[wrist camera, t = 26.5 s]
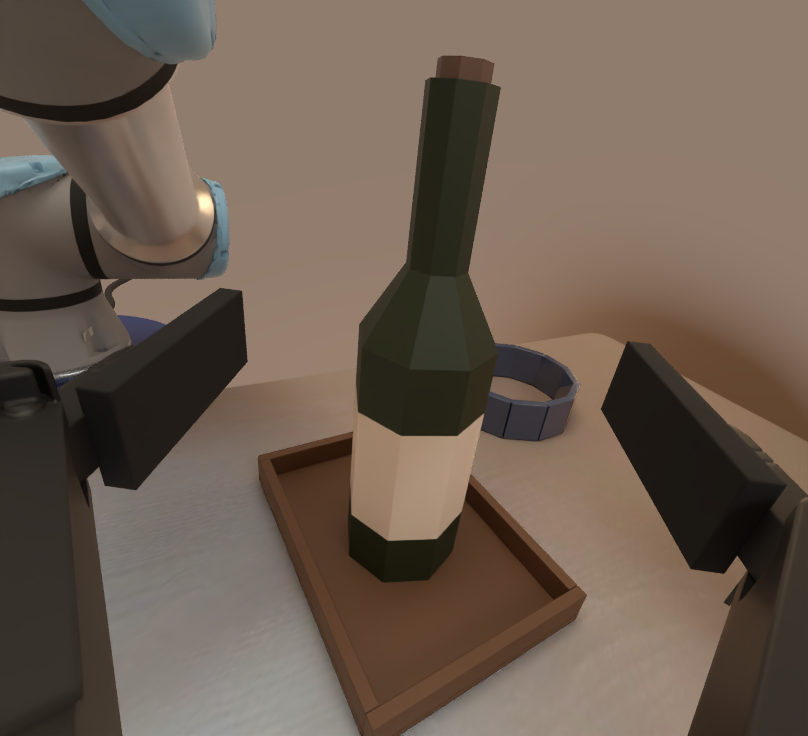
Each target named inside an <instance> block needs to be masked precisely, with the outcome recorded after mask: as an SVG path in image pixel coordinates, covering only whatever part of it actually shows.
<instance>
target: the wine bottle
mask: <svg viewBox="0 0 808 736" xmlns="http://www.w3.org/2000/svg"><path fill="white" fill-rule="evenodd" d="M493 68H494V63H492V62H489V61H487V60H485V59H479V58H473V57H466V56H441V57H440V58H438V62H437V70H436V78H429V79H427V80H426V81H425V90H424V99H423V109H422V118H421V128H420V138H419V147H418V156H417V166H416V175H415V185H414V194H413V203H412V213H411V222H410V232H409V241H408V251H407V260H406V263H405V265H404V266H403V267H402V269H401V270H400V271H399V272H398V274H397V275H396V277H395V278H394V279H393V280H392V282H391V283H390V284H389V286H388V287H387V288H386V290H385V291H384V292H383V294H382V295H381V296H380V298H379V299H378V300H377V302H376V303H375V304H374V306H373V307H372V308H371V310H370V311H369V312H368V314H367V315H366V316H365V317H364V319H363V320H362V321H361V323H360V325H359V340H358V357H357V374H356V391H355V408H354V425H353V443H352V460H351V477H350V494H349V511H348V542H349V556H350V557H351V558H352V559H354V560H355V561H356V562H357V563H359V564H360V565H361V566H362V567H364V568H365V569H366V570H367V571H369V572H370V573H371V574H372V575H374V576H375V577H376V578H378V579H379V580H380V581H381V582H383V583H387V582H405V581H423V580H429V579H430V578H431V577H432V575H433V574H434V573H435V572H436V571H437V569H438V568H439V567H440V566H441V565H442V563H443V562H444V561H445V560H446V559H447V557H448V556H449V555H450V554H451V552H452V551H453V547H454V543H455V539H456V534H457V530H458V525H459V521H460V517H461V512H462V508H463V504H464V499H465V495H466V491H467V486H468V482H469V478H470V473H471V469H472V465H473V460H474V456H475V452H476V447H477V443H478V439H479V434H480V430H481V426H482V421H483V417H484V413H485V408H486V404H487V400H488V395H489V391H490V387H491V382H492V378H493V374H494V369H495V365H496V361H497V356H498V350H497V347H496V345H495V342H494V340H493V337H492V334H491V332H490V330H489V326H488V324H487V321H486V319H485V316H484V313H483V311H482V308H481V306H480V303H479V300H478V298H477V295H476V292H475V290H474V288H473V285H472V282H471V279H470V277H469V274H468V270H469V265H470V259H471V253H472V248H473V241H474V236H475V230H476V225H477V219H478V214H479V208H480V202H481V197H482V191H483V185H484V179H485V174H486V168H487V162H488V157H489V151H490V145H491V140H492V134H493V128H494V122H495V117H496V111H497V106H498V100H499V94H500V89H501V88H500V87H499V86H496V85H493V84H491V80H492V74H493Z"/></svg>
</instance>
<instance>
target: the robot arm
mask: <svg viewBox="0 0 808 736" xmlns="http://www.w3.org/2000/svg"><path fill="white" fill-rule="evenodd" d="M215 39H216V13H215V0H0V110H1V111H4V112H7V113H9V114H13V115H16V116H19V117H21V118H22V120H23V121H24V122H25V123H26V124H27V126H28V127H29V128H30V129H31V130H32V131H33V133H34V134H35V135H36V136H37V137H38V138H39V139H40V140H41V142H42V143H43V144H44V145H45V147H46V148H47V149H48V150H49V151H50V152H51V154H52V155H53V156H51V155H39V156H15V157H1V158H0V736H122V729H121V721H120V713H119V705H118V698H117V690H116V682H115V675H114V667H113V659H112V651H111V644H110V636H109V628H108V621H107V613H106V605H105V597H104V590H103V582H102V574H101V567H100V559H99V551H98V544H97V536H96V528H95V520H94V513H93V505H92V497H91V490H90V486H89V483H88V480H87V478H88V477H89V476H90V475H91V474H92V473H93V472H94V471H95V470H96V469H97V468H98V467H99V468H100V471H101V475H102V478H103V481H104V484H105V486H110V487H118V488H125V489H132V490H137V489H138V488H139V486H140V485H141V484H142V483H143V482H144V481H145V479H146V478H147V477H148V476H149V475H150V474H151V473H152V471H153V470H154V469H155V468H156V467H157V466H158V464H159V463H160V462H161V461H162V460H163V459H164V458H165V456H166V455H167V454H168V453H169V452H170V451H171V449H172V448H173V447H174V446H175V445H176V444H177V443H178V441H179V440H180V439H181V438H182V437H183V436H184V434H185V433H186V432H187V431H188V430H189V429H190V428H191V426H192V425H193V424H194V423H195V422H196V421H197V419H198V418H199V417H200V416H201V415H202V414H203V413H204V411H205V410H206V409H207V408H208V407H209V406H210V404H211V403H212V402H213V401H214V400H215V399H216V398H217V396H218V395H219V394H220V393H221V392H222V391H223V389H224V388H225V387H226V386H227V385H228V384H229V382H230V381H231V380H232V379H233V378H234V377H235V376H236V374H237V373H238V372H239V371H240V370H241V369H242V368H243V366H244V365H245V364H246V363H247V348H246V336H245V324H244V310H243V298H242V291H239V290H231V289H224V288H219V289H218V290H217V291H215V292H214V293H212V294H211V295H209V296H208V297H206V298H205V299H203V300H202V301H200V302H199V303H198V304H196V305H195V306H193V307H192V308H190V309H189V310H187V311H186V312H184V313H183V314H181V315H180V316H179V317H177V318H176V319H174V320H173V321H171V322H170V323H169V324H167V325H165V326H164V327H163V328H161V329H160V330H158V331H157V332H155V333H154V334H152V335H151V336H149V337H148V338H147V339H145V340H144V341H142V342H141V343H139V344H138V345H136V346H134V345H132V343H131V339H130V335H129V333H128V331H127V330H126V328H125V327H124V325H123V324H122V322H121V320H120V319H119V317H118V316H117V314H116V313H115V311H114V310H113V309H114V307H115V301H114V299H113V297H112V292H113V290H114V289H115V288H117V287H118V286H120V285H121V284H123V283H125V282H127V281H129V280H131V279H171V278H172V279H182V278H183V279H187V278H188V279H189V278H191V279H193V278H194V279H197V280H200V279H201V280H202V279H205V278H212V277H219V276H221V275H223V274H224V273H225V271H226V269H227V266H228V261H229V252H228V249H229V220H228V211H227V203H226V197H225V194H224V191H223V189H222V187H221V185H220V184H219V183H217V182H215V181H210V180H208V179H205V178H200V177H198V175H197V174H196V173H195V172H194V171H193V170H192V169H190V168H189V166H188V161H187V157H186V153H185V149H184V145H183V141H182V137H181V132H180V128H179V124H178V120H177V116H176V112H175V107H174V103H173V100H172V96H171V91H170V87H169V84H170V83H171V82H172V80H173V78H174V77H175V75H176V73H177V71H178V69H179V67H180V64H181V62H183V61H185V60H200V59H203V58H205V57H206V56H207V55H208V54H209V52H210V51H211V50H212V49H213V46H214V42H215ZM100 279H119V280H117V281H115V282H113V283H112V284H110V285H109V286H108V287H107V288H106V290H105V296H104V294H103V290H102V286H101V282H100ZM105 297H106V298H105ZM57 386H61V387H60V388H58V389H57ZM601 410H602V412H603V414H604V416H605V417H606V419H607V421H608V423H609V424H610V426H611V428H612V430H613V432H614V433H615V435H616V437H617V439H618V440H619V442H620V444H621V446H622V448H623V449H624V451H625V453H626V455H627V457H628V458H629V460H630V462H631V464H632V465H633V467H634V469H635V471H636V473H637V474H638V476H639V478H640V480H641V481H642V483H643V485H644V487H645V489H646V490H647V492H648V494H649V496H650V497H651V499H652V501H653V503H654V505H655V506H656V508H657V510H658V512H659V513H660V515H661V517H662V519H663V521H664V522H665V524H666V526H667V528H668V529H669V531H670V533H671V535H672V537H673V538H674V540H675V542H676V544H677V545H678V547H679V549H680V551H681V553H682V554H683V556H684V558H685V560H686V562H687V563H688V565H689V567H690V569H694V570H701V571H708V572H715V573H722V574H724V573H725V572H726V570H727V569H728V568H729V566H730V565H731V563H732V562H733V561H734V559H735V558H736V556H738V557H739V559H740V560H741V561H742V563H743V564H744V566H745V567H746V569H747V570H748V571H747V572H746V573H745V575H744V576H743V577H742V579H741V580H740V581H739V583H738V584H737V585H736V587H735V588H734V589H733V591H732V592H731V593H730V595H729V596H728V597H727V599H726V600H725V601H724V603H725V604H727V605H728V606H730V605H731V604H732V605H731V608H730V611H729V614H728V617H727V620H726V623H725V626H724V629H723V632H722V635H721V638H720V641H719V644H718V646H717V649H716V652H715V655H714V658H713V661H712V664H711V667H710V670H709V673H708V676H707V679H706V682H705V685H704V688H703V691H702V694H701V697H700V700H699V703H698V706H697V709H696V712H695V715H694V718H693V721H692V724H691V727H690V730H689V733H688V736H808V495H807V494H806V493H805V492H804V491H803V490H802V489H801V488H800V487H799V486H798V485H797V484H796V483H795V482H794V481H793V480H792V479H791V478H790V477H789V476H788V475H787V474H786V473H785V472H784V471H783V470H782V469H781V468H780V467H779V466H778V465H777V464H774V463H773V460H772V459H771V458H770V457H769V456H768V455H767V454H766V453H764V452H762V449H761V448H760V447H759V446H758V445H757V444H756V443H755V442H754V441H753V440H752V439H751V438H750V437H749V436H747V435H746V434H744V433H743V432H741V431H740V430H738V429H737V428H735V427H734V426H732V425H731V424H727V423H726V421H725V420H724V419H723V418H722V417H721V416H720V415H719V414H718V413H717V412H716V411H715V410H714V409H713V408H712V407H711V406H710V405H709V404H708V403H707V402H706V401H705V400H704V399H703V398H702V397H701V396H700V395H699V394H698V393H697V392H696V391H695V390H694V388H693V387H692V386H691V385H690V384H689V383H688V382H687V381H686V380H685V379H684V378H683V377H682V376H681V375H680V374H679V373H678V372H677V371H676V370H675V369H674V368H673V367H672V366H671V365H670V364H669V363H668V362H667V361H666V360H665V359H664V358H663V357H662V356H661V354H660V353H658V351H656V349H655V348H654V347H653V346H652V345H651V344H646V343H638V342H630V341H627V344H626V346H625V349H624V351H623V354H622V356H621V359H620V361H619V364H618V367H617V369H616V372H615V374H614V377H613V379H612V382H611V385H610V387H609V390H608V392H607V395H606V397H605V400H604V402H603V405H602V408H601Z"/></svg>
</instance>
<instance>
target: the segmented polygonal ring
mask: <svg viewBox="0 0 808 736" xmlns="http://www.w3.org/2000/svg"><path fill="white" fill-rule="evenodd" d="M495 345H496V347H497V350H498V356H497V361H496V365H495V369H494V374H493V376H502V377H510V378H513V379H516V380H519V381H522V382H525V383H528V384H531V385H534V386H535V387H537V388H538V389H540V390H541V391H543V392H544V393H545V394H547V395H548V396H550V397H551V398H553V399H554V400H551V401H548V402H534V401H523V400H512V399H509V398H506V397H503V396H501V395H498V394H495V393H492V392H490V391H489V395H488V400H487V404H486V408H485V413H484V417H483V421H482V426H481V430H483V431H486V432H488V433H491V434H493V435H496V436H498V437H501V438H502V436H503V438H507V439H519V440H531V441H537V440H538V441H540V440H543V439H546V438H549V437H552V436H555V435H557V434H560V433H562V432H564V429H565V427H566V424H567V422H568V420H569V417H570V415H571V412H572V409H573V406H574V403H575V400H576V397H577V394H578V392H579V389H580V386H581V385H580V383H579V381H578V380H577V379H576V377H575V376H574V374H573V373H572V371H571V370H570V369H568V367H566V366H565V365H563V364H561V363H560V362H558V361H556V360H555V359H553V358H551V357H550V356H548V355H545V354H543V353H540V352H537V351H533V350H530V349H527V348H523V347H520V346H516V345H508V344H498V343H495Z"/></svg>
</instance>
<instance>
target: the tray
mask: <svg viewBox="0 0 808 736" xmlns="http://www.w3.org/2000/svg"><path fill="white" fill-rule="evenodd" d="M352 443H353V432H350V433H346V434H342V435H338V436H334V437H330V438H326V439H322V440H318V441H314V442H310V443H306V444H303V445H299V446H295V447H291V448H287V449H283V450H279V451H275V452H271V453H267V454H263V455H259V456H258V465H259V479H260V481H261V484H262V486H263V489H264V492H265V494H266V497H267V499H268V502H269V504H270V507H271V509H272V512H273V514H274V517H275V519H276V522H277V524H278V527H279V529H280V532H281V534H282V537H283V540H284V542H285V545H286V547H287V550H288V552H289V555H290V557H291V560H292V562H293V565H294V567H295V570H296V572H297V575H298V577H299V580H300V582H301V585H302V588H303V590H304V593H305V595H306V598H307V600H308V603H309V605H310V608H311V610H312V613H313V615H314V618H315V620H316V623H317V625H318V628H319V630H320V633H321V636H322V638H323V641H324V643H325V646H326V648H327V651H328V653H329V656H330V658H331V661H332V663H333V666H334V668H335V671H336V673H337V676H338V678H339V681H340V684H341V686H342V689H343V691H344V694H345V696H346V699H347V701H348V704H349V706H350V709H351V711H352V714H353V716H354V719H355V721H356V724H357V726H358V729H359V731H360V734H361V736H399V735H400V734H402V733H403V732H405V731H407V730H408V729H410V728H411V727H413V726H414V725H416V724H417V723H419V722H420V721H422V720H423V719H425V718H426V717H428V716H429V715H431V714H432V713H434V712H435V711H437V710H438V709H440V708H441V707H443V706H444V705H446V704H447V703H449V702H450V701H452V700H453V699H455V698H456V697H458V696H460V695H461V694H463V693H464V692H466V691H467V690H469V689H470V688H472V687H473V686H475V685H476V684H478V683H479V682H481V681H482V680H484V679H485V678H487V677H488V676H490V675H491V674H493V673H494V672H496V671H497V670H499V669H500V668H502V667H503V666H505V665H506V664H508V663H509V662H511V661H513V660H514V659H516V658H517V657H519V656H520V655H522V654H523V653H525V652H526V651H528V650H529V649H531V648H532V647H534V646H535V645H537V644H538V643H540V642H541V641H543V640H544V639H546V638H547V637H549V636H550V635H552V634H553V633H555V632H556V631H558V630H559V629H561V628H562V627H564V626H566V625H567V624H569V623H570V622H572V621H573V620H575V619H576V617H577V615H578V612H579V610H580V608H581V606H582V604H583V602H584V600H585V598H586V596H587V595H586V594H585V593H584V591H583V590H582V589H581V588H580V587H579V586H577V584H576V583H575V582H574V581H573V580H572V579H571V578H570V577H569V576H568V575H567V574H566V573H565V572H564V571H563V570H562V569H561V568H560V566H559V565H558V564H557V563H556V562H555V561H554V560H553V559H552V558H551V557H550V556H549V555H548V554H547V553H546V552H545V551H544V550H543V549H542V548H541V547H540V546H539V545H538V544H537V543H536V541H535V540H534V539H533V538H532V537H531V536H530V535H529V534H528V533H527V532H526V531H525V530H524V529H523V528H522V527H521V526H520V525H519V524H518V523H517V522H516V521H515V520H514V519H513V518H512V516H511V515H510V514H509V513H508V512H507V511H506V510H505V509H504V508H503V507H502V506H501V505H500V504H499V503H498V502H497V501H496V500H495V499H494V498H493V497H492V496H491V495H490V494H489V493H488V491H487V490H486V489H485V488H484V487H483V486H482V485H481V484H480V483H479V482H478V481H477V480H476V479H475V478H474V477H473V476H472V475H471V474H470V478H469V482H468V486H467V491H466V495H465V499H464V504H463V508H462V512H461V517H460V521H459V525H458V530H457V534H456V539H455V543H454V547H453V551H452V552H451V554H450V555H449V556H448V557H447V559H446V560H445V561H444V562H443V563H442V565H441V566H440V567H439V568H438V569H437V571H436V572H435V573H434V574H433V575H432V577H431V578H430V579H429V580H423V581H405V582H387V583H383V582H381V581H380V580H379V579H378V578H376V577H375V576H374V575H372V574H371V573H370V572H369V571H367V570H366V569H365V568H364V567H362V566H361V565H360V564H359V563H357V562H356V561H355V560H354V559H352V558H351V557H350V556H349V542H348V511H349V494H350V477H351V460H352Z"/></svg>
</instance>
